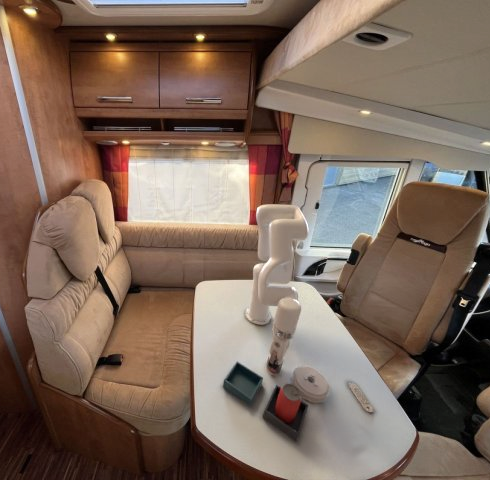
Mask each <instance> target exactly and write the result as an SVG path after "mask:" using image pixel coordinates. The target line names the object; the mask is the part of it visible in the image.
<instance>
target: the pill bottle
mask: <svg viewBox="0 0 490 480" xmlns="http://www.w3.org/2000/svg"><path fill="white" fill-rule="evenodd" d="M270 357H271V355H270V354H269V353H268V357H267V361H266V364H265V368H266V371H267V373H268V374H271V376H278V375H280V373H281V371H282V369H283V365H284V361H285V360H284V358H283V359H282V361H279V360H278V365H277V369H276V370H274V369H272V368H271V367H269V366H268V363H269V359H270ZM276 359H277V358H276V357H275V360H276Z"/></svg>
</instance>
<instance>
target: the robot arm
mask: <svg viewBox="0 0 490 480" xmlns="http://www.w3.org/2000/svg"><path fill="white" fill-rule="evenodd" d="M255 217H256V219H255V220H256V224H257V227H258V240H257V242H258V244H257V257H258V259H259V260H260V261H262V263H261V262H260V263H257V264H255V265H254V267H253V269H252V288H251V295H250V302H249V307H247V308H246V310H245V317H246V319H247V320H248V321H249V322H250V323H252V324H254V325H257V326H263V325H268V324H269V322H271V315H270V313H269V311H270V307H276V312H275V315H274V320H273V324H272V333H273V336H272V340H271V343H270V347H269V352H268V355H269V354H270V355H271V357H270V359H269V363H268V366H269V367H271V368H272V369H274V370H276V369H277V365H278V360H279V361H282V359H284V358H285V355H286V353H287V352H288V349H289V347H290V344H291V340H293V338H294V337H295V333H296V330H297V326H298V322H299V319H300V316H301V313H302V306H301V303H300V302H299V292H298V291H297V290H296V288H295V287H294V286H284V285H288V284H289V283H290V282H291V281H292V275H293V265H294V259H295V257H294V256H295V251H294V245H293V241H300V242H302V241H305V240H306V239H307V238H308V236H309V226H308V222H307V219H306V217H305V215H304V214H303V212H302V211H301V209H300V207H299V206H298V205H295V204H279V203H277V204H276V203H275V204H273V203H269V204H262V205H259V206H258V207H257V209H256V213H255ZM263 262H264V263H263ZM275 357H276V358H277V359H276V360H275Z"/></svg>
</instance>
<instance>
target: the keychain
mask: <svg viewBox="0 0 490 480" xmlns="http://www.w3.org/2000/svg"><path fill="white" fill-rule="evenodd" d="M348 387H349V389H351V392H352V393H353V394H354V397H356V399H357V400H358V402H359V404H360V405H361V407H362V408H363V409H364V411H366V412H367V413H373V412H374V407H373V406H372V405H371V404H370V402H369V401H368V399H367V398H366V396H365V395H364V394H363V392H362V391H361V390H360V388H359V386H358V385H357V384H356V383H354V382H349V383H348Z"/></svg>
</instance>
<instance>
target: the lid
mask: <svg viewBox="0 0 490 480" xmlns="http://www.w3.org/2000/svg"><path fill="white" fill-rule="evenodd" d="M290 381H291V384H292V385H294V386H296V387H297V388H298V389H299V391H300V393H301V398H302V399H304V400H305V401H308V402H310V403H315V404H319V403H320V404H321V403H323V402H325V401H326V400H327V398H328V396H329V394H330V391H331V390H330V384H329V381H328V380H327V378H326V377H325V375H323V373H321V372H320V371H319V370H318V369H316V368H314V367H311V366H309V365H298V366H296V367H295V368H294V369H293V371H292V375H291V379H290Z"/></svg>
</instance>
